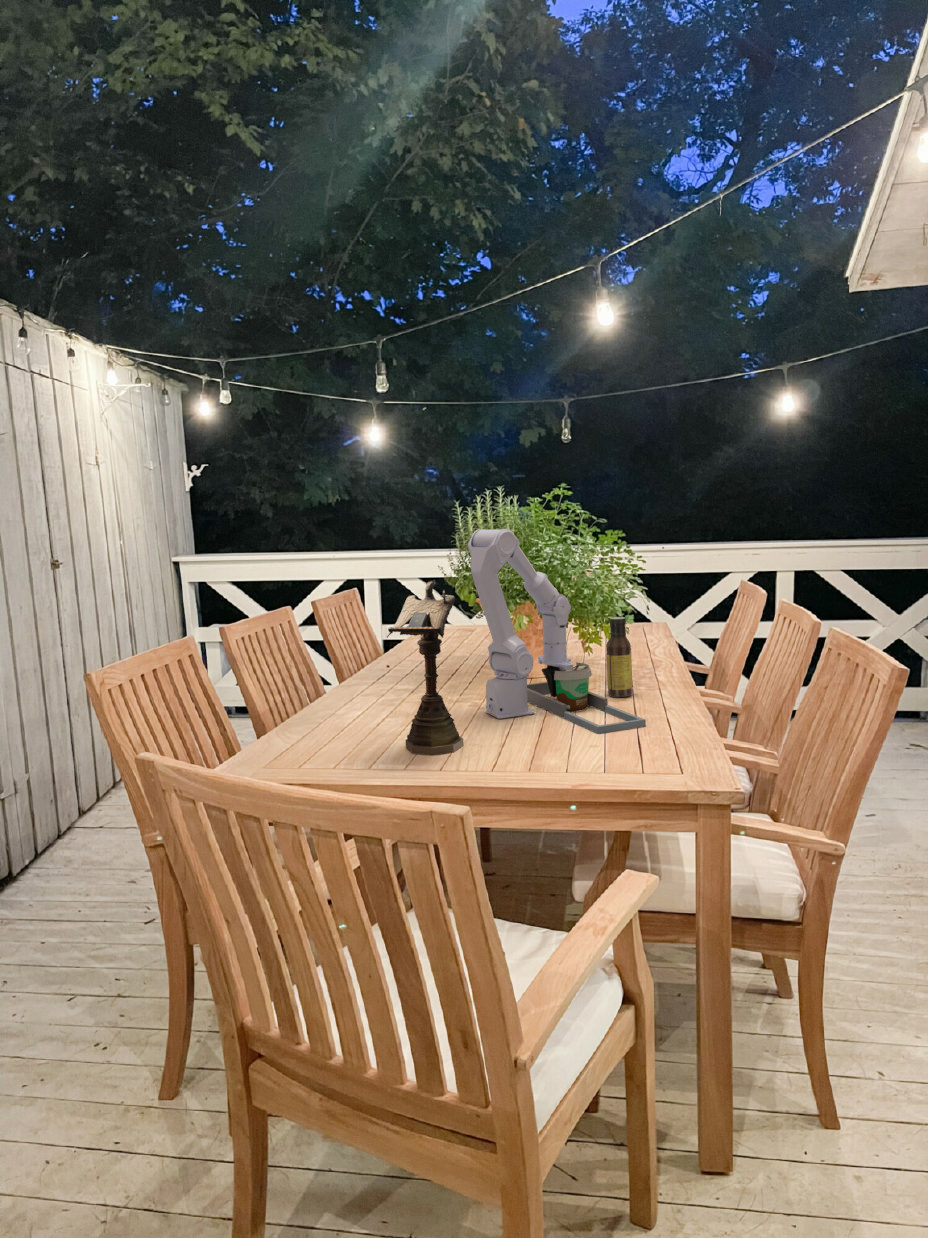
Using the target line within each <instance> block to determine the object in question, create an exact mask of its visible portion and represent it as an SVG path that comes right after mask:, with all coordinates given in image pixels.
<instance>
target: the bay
mask: <svg viewBox="0 0 928 1238" xmlns="http://www.w3.org/2000/svg"><path fill="white" fill-rule="evenodd" d="M605 713H607V714H609V715H611V716H614V717H616V718H619V719H621V720H624V721H618V722H613V723H607V724H597V723H595V722H593V721H591V720H588V719H586V718H584V717H581V716H579V715H576V714H574V713H572V712H568V711H567V712H564V718H563V719H565V720H566V721H569V722H571V723H573V724H576V725H578V726H580V727H581V728H584V729H587V730H589V731H591V732H592V733H595V734H597V735H599V734H600V735H601V734H607V733H611V732H612V733H613V732H619V731H625V730H626V731H627V730H632V729H636V728H637V729H638V728H644V727H647V726H646V723H647V721H646V719H645V718H642V717H640V716H639V715H638V716H637V715H635V714H632V713H630V712H626V711H625V710H622V709H620V708H616V707H615V706H612V705H609V704H608V705H607V706H605Z"/></svg>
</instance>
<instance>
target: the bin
mask: <svg viewBox="0 0 928 1238" xmlns="http://www.w3.org/2000/svg"><path fill="white" fill-rule="evenodd" d="M547 695H551V694H550V690H549V686H548V683H547V681H541V682H533V683H527V698H528V703H530V704H532V705H534V706H536V707H539V708H540V709H542V710H544V711H547V712H549V713H552V714H553V715H555V716H558V717H561V718H563V719H564V712H567V711H566V704H564V703H561V702H559V701H557V699H554V698H553V697H551V696H550V697H549V696H547ZM608 701H609V700H608V698H607V697H604V696H602V695H599V694H596V693H594V692H590V690H588V704H587V706H590V707H592V708H595V709H597V710H598V711H599V710H600V711H601V712H605V706H607V705H609V704H608ZM605 713H606V712H605Z"/></svg>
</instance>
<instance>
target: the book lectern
mask: <svg viewBox="0 0 928 1238" xmlns="http://www.w3.org/2000/svg"><path fill="white" fill-rule="evenodd" d="M425 585H426V586H425V588H424V590H425V596H424V598H423V599H418V598H417V595H408V596H407V597H406V600H405V602H404V604H403V606H402V609H401V612H400V613H399V615H398V617H397V619H396V622H395V623H394V625H393V627H392V626H390V627H389V628H388V629H387V630H388V634H387V636H386V638H388V637H389V636H390V635H392V634H393V633H399V635H400V636H403V635H405V636H414V637H415V636H420V639H418V640H417V642H416V644H417V645H418V647H419V649H418V653H419V654H420V655H422V656H423V658H424V668H425V669H424V675H423V677H424V678H425V692H424V695H422V696H421V698H420V701H421V702H420V704H419V707H418V710H417V711H416V714H414V715H413V717H414V718H413V719H412V720H411V722H412V723H411V725H410V729H409V733H408V734H407V736H406V738H407V739H405V748H406V749H407V750H408V751H409V752H410V753H411V754H414V755H415V754H416V755H427V756H439V755H444V754H451V753H454V752H456V751H458V750H460V749H461V748H462V747H464V742H465V741H464V738H463V737H462V736H460V734H459V732H458V731H457V727H456V724H455V722H454V721H455V718H453V717H452V714H451V713H450V712H449V710H448V708H447V707H446V704H445V702H444V697H443V696H442V695H440V693H439V692H438V691H437V683H438V681H437V678H438V677H439V674H438V673H437V655H439V654H441V644H442V643H443V641H442V639H443V638H444V636H445V627H446V622H447V621H448V616H449V615H450V612H451V610H452V609H453V606H454V604H455V601H456V597H455V596H454V595H451V594H450V595H449V594H446V591H445V589H443V590H442V595H441V594H440V597H441V599H436V598H435V596H434V593H433V592H434V591H433V589H434V588H435V586H436V580H435V579H433V580H430V581H428V582H427V583H426V584H425ZM407 624H408V625H407ZM405 625H407V626H405ZM439 636H440V637H441V638H442V639H441V638H439Z"/></svg>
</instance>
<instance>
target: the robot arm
mask: <svg viewBox="0 0 928 1238" xmlns="http://www.w3.org/2000/svg"><path fill="white" fill-rule="evenodd" d="M467 547H468V551H469V554H470V558H471V559H470V563H471V564H470V566H471V567H470V570H471V571H470V573H471V577H472V580H473V583H474V586H475V589H476V592H477V594H478V598H479V602H480V605H481V608H482V611H483V614H484V618H485V620H486V623H487V627H488V628H489V633H490V636H491V639H492V641H491V642H490V644H489V645H488V647H487V650H488V655H489V656H488V657H489V658H488V665H489V667H490V669H492V671H493V672H494V676H495V677H494V678H490V679H488V680H487V681H486V684H485V701H486V704H485V705H486V709H485V713H487V714H489V715H491V716H493V717H494V718H497V719H507V718H514V717H522V716H527V715H529V716H530V715H534V714H535V713H536V712H535V711H534V710H532V709H530V708H529V705H528V703H529V702H528V698H527V684H528V677H529V676H530V673H532V670H533V667H534V657H533V655H532V653H531V652H530V651H529V649H528V648H527V645H526V643H525V642H524V641H523V640H522V639H521V638H520V637H518V635H517V634H516V632H515V628H514V625H513V621H512V618H511V616H510V612H509V608H508V606H507V602H506V599H505V595H504V592H503V589H502V585H501V583H500V579H499V577H498V573H499V571H500V569H502V568H503V567H504V565H505V564H506V563H507V564H508V565H509V566H510V567H511V568H512V569H513V570H514V571H515V572H516V573H517V574H518V575H519V576H520V577H521V579H522V580H523V581H524V583H523V587H524V589H525V590H526V592H527V593H528V594H529V596H530V597H531V599H533V600H534V603H535V604H536V606H535V607H536V610H537V613H538V614H539V615H540V616H542V618H541V619H542V652H543V655H537V658H538V661H537V663H538V664H539V665H546V667H544V668H541V672H542V674H543V675H544V677H545V680H546V682H547V683H548V686H549V690H550V694H549V695H550V697H551V698H557V694H556V681H555V680H554V674H555V671H564V670H566V671H567V670H573V667H574V664H573V663H571V662H572V661H571V660H572V659H571V658H569V657H567V656H568V655H567V625H568V622H569V619H568V618H569V615H570V613H571V609H572V604H570V601H569V599H568V598H567V597H566V596H565V595H564V594H560V593H559V592H558V589H557V588H556V587H554V585H553V583H552V582H551V581H550V580H549V579H548V578H549V575H548V574H546V573H544V572H541V571H536V569H535V568H534V567H533V565H532V564H531V562H530V560H529V559H528V557H527V556H526V555H525V553H524V551H523V550H522V548H521V547H520V539H519V538H518V537H517V536H516V535H515V534H514V532H513V531H512V530H511V529H509V528H501V529H485V528H478V529H476V530H475V531H474V532H473V533H472V535H471V537H470V539H469V541H468V543H467Z"/></svg>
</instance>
